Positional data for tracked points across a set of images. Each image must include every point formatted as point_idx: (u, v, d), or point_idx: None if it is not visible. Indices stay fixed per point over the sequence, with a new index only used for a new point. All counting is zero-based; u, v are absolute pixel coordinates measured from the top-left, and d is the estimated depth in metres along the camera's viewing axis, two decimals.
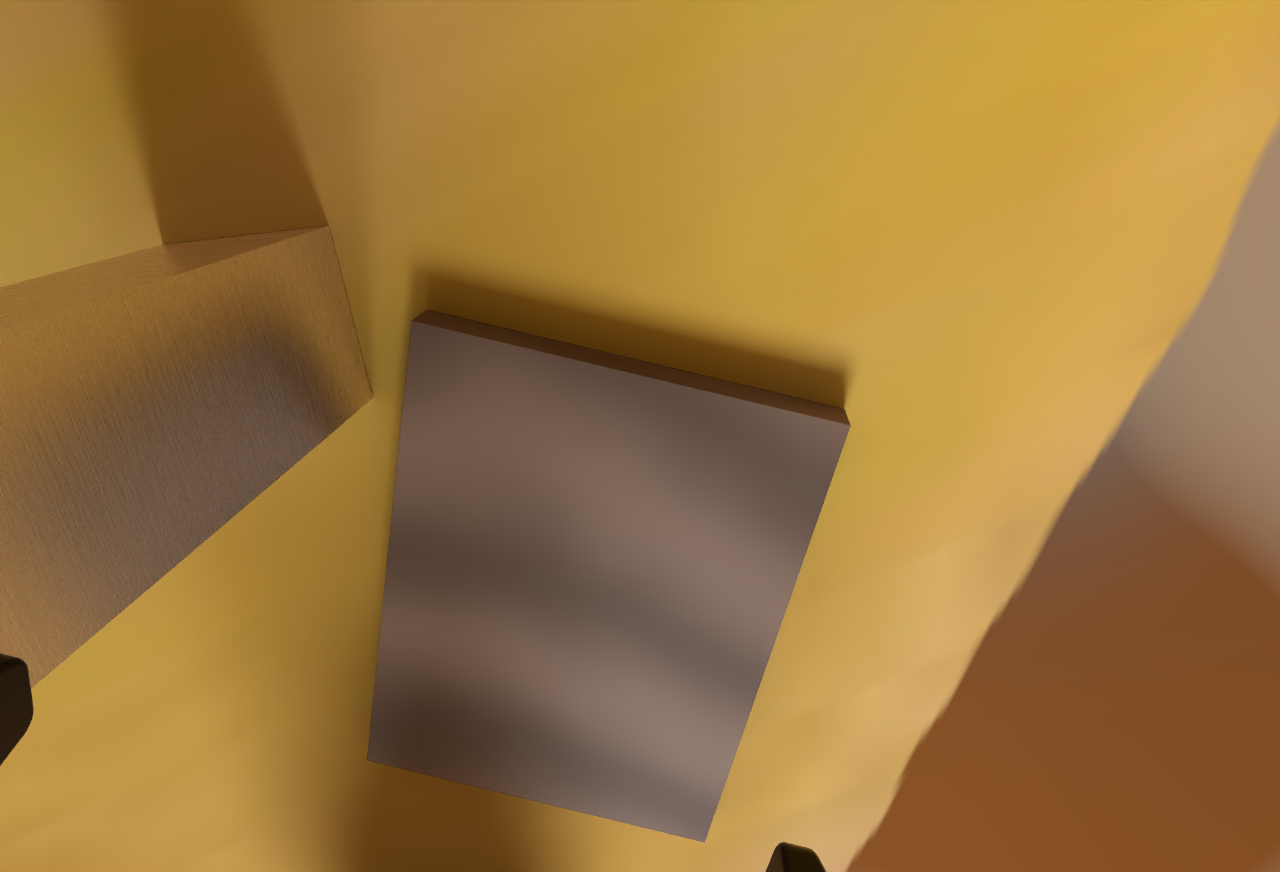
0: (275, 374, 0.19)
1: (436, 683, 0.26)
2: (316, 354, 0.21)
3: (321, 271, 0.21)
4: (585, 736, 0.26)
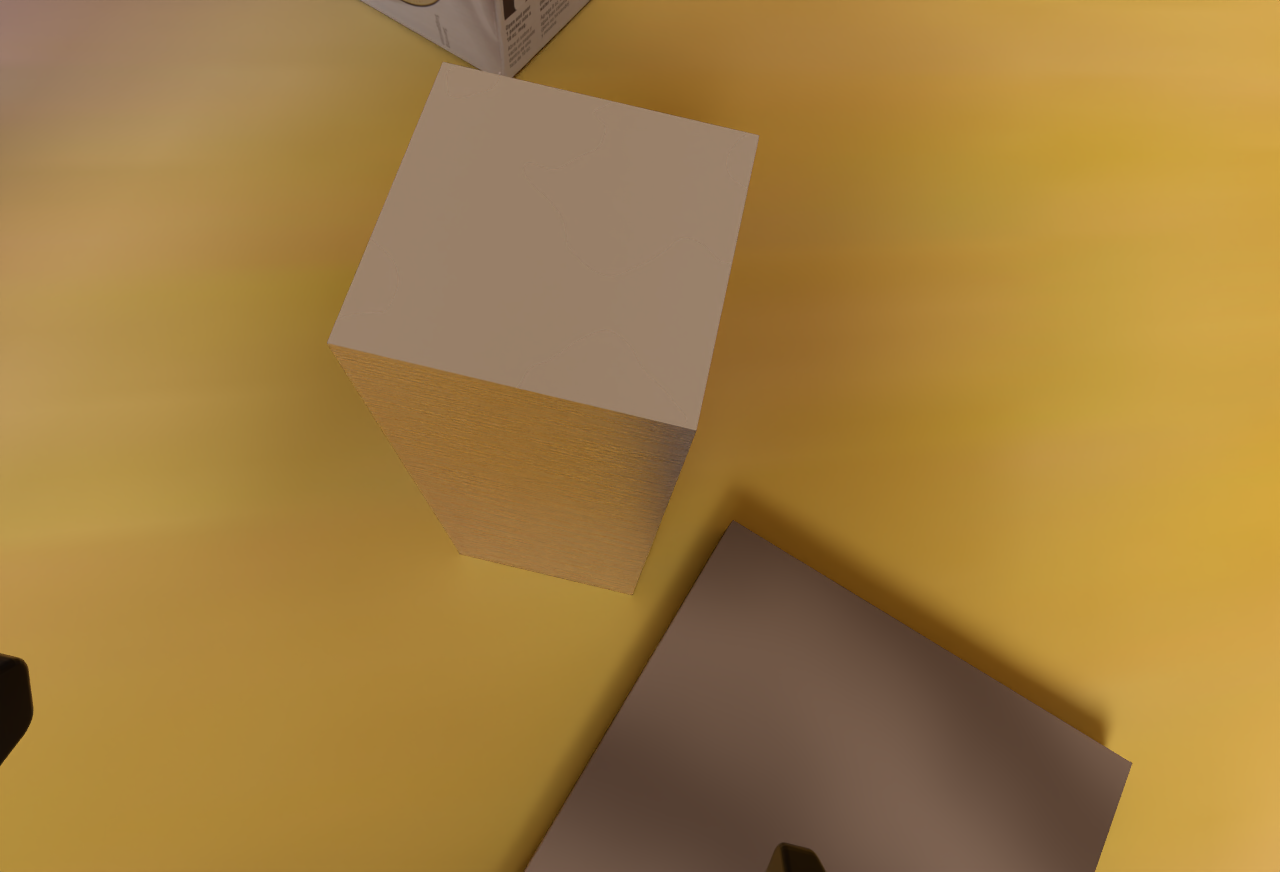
0: None
1: None
2: None
3: None
4: None
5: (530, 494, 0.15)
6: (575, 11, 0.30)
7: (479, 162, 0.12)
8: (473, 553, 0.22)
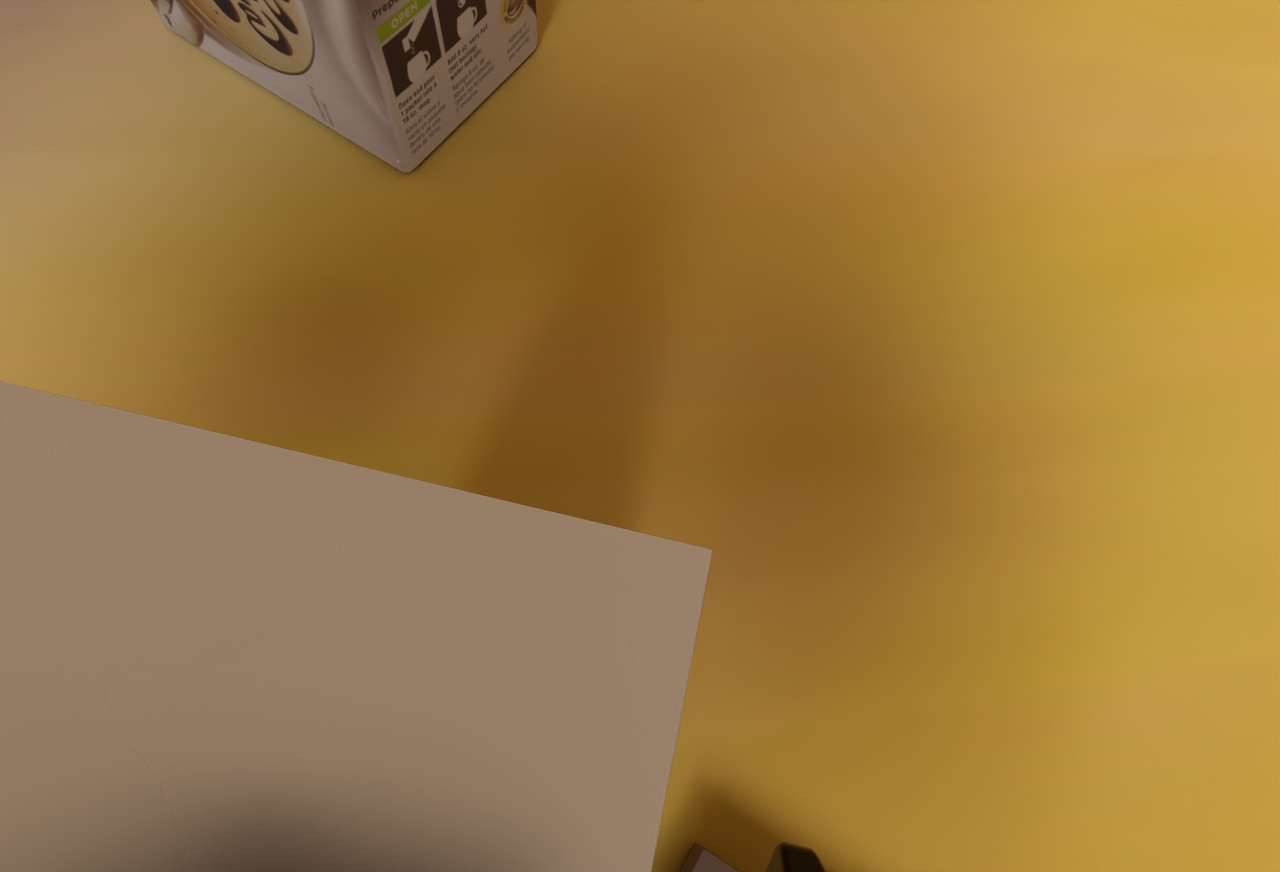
0: None
1: None
2: None
3: None
4: None
5: None
6: (504, 75, 0.23)
7: None
8: None
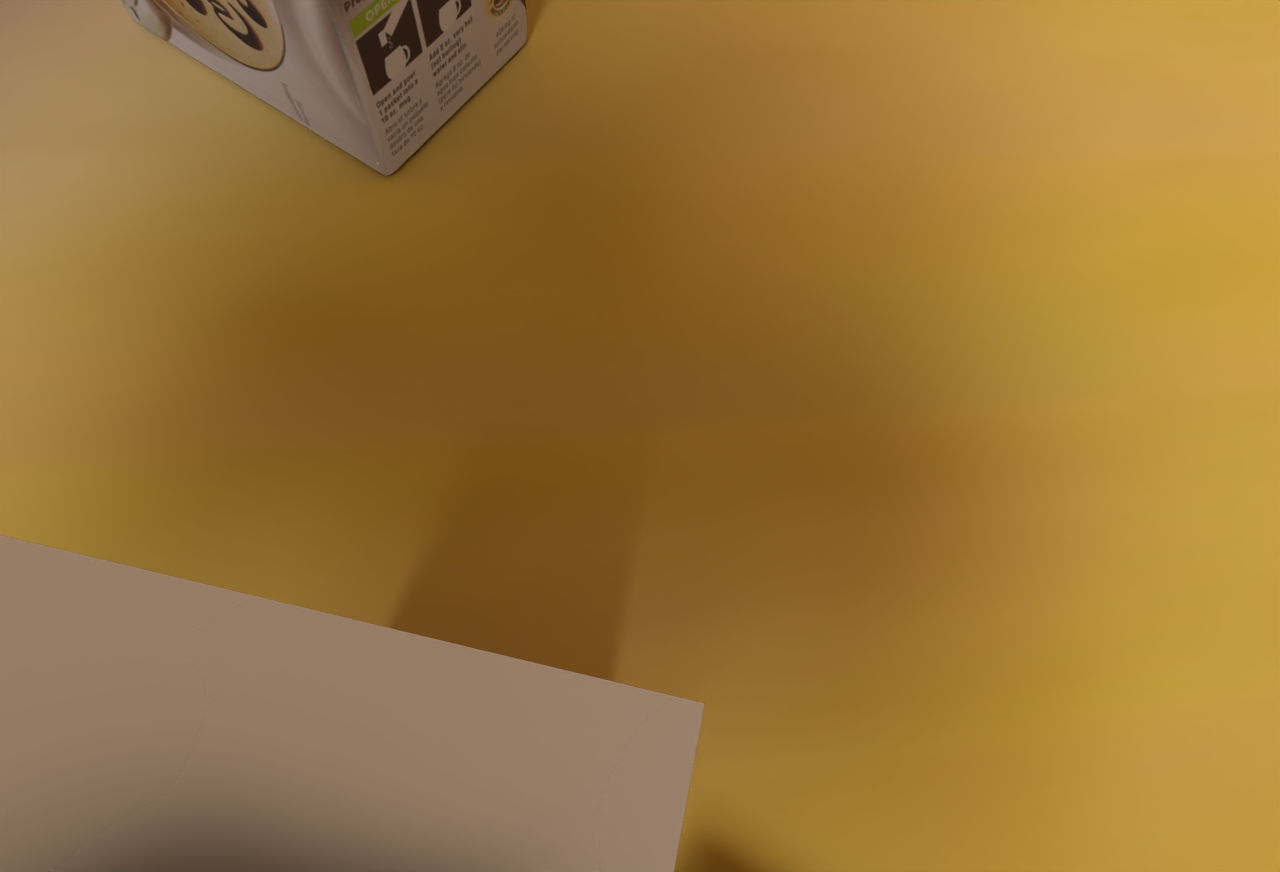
0: None
1: None
2: None
3: None
4: None
5: None
6: (492, 71, 0.21)
7: None
8: None
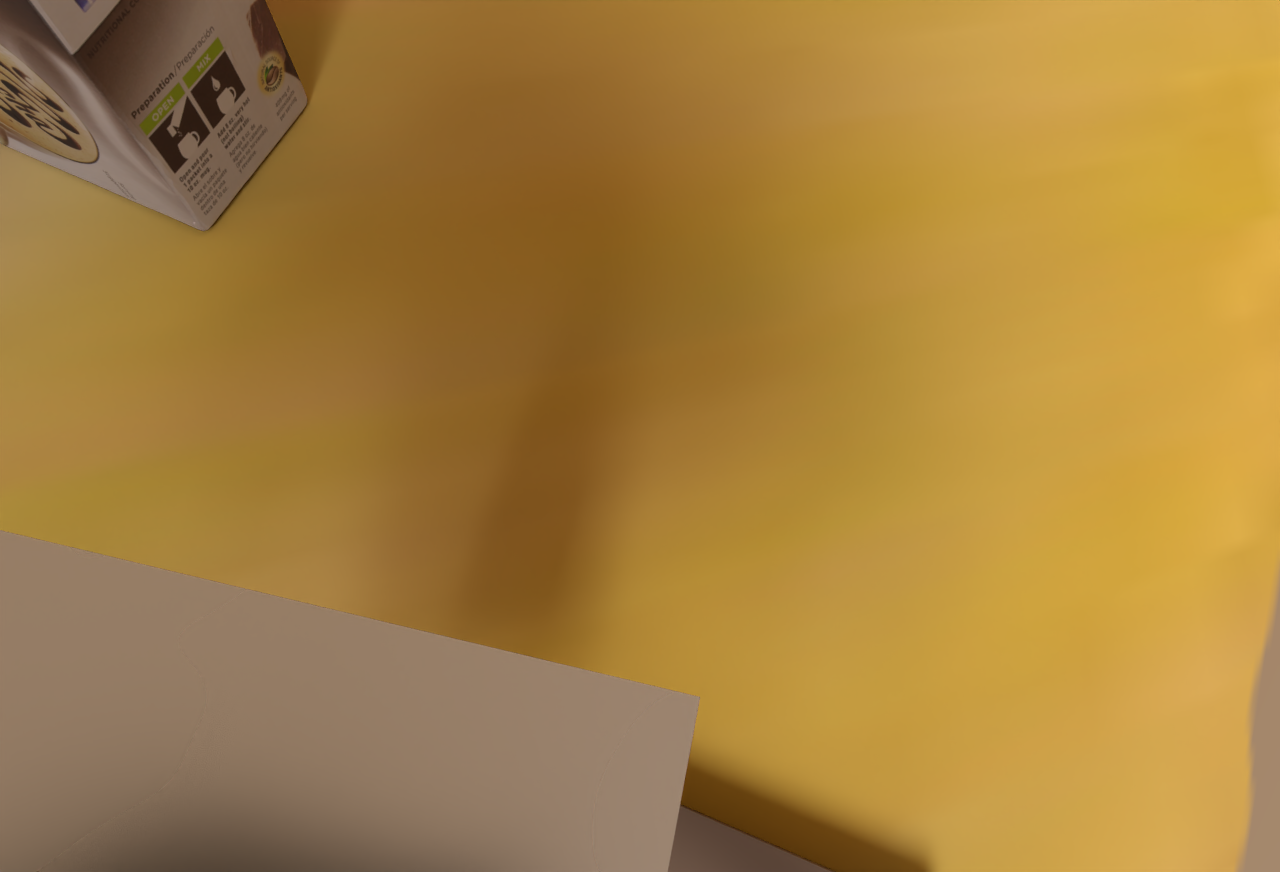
0: None
1: None
2: None
3: None
4: None
5: None
6: (280, 133, 0.27)
7: None
8: None
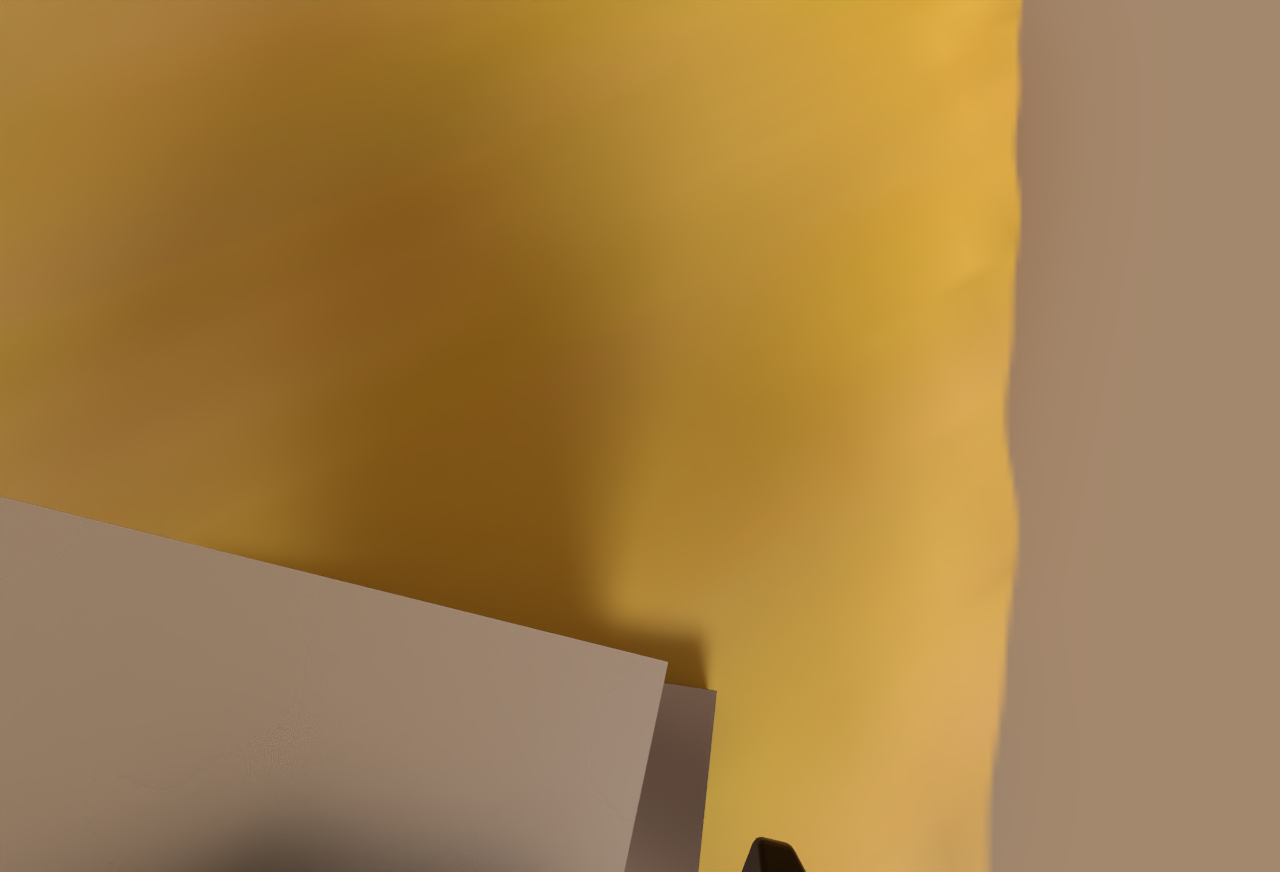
0: None
1: None
2: None
3: None
4: None
5: None
6: None
7: None
8: None
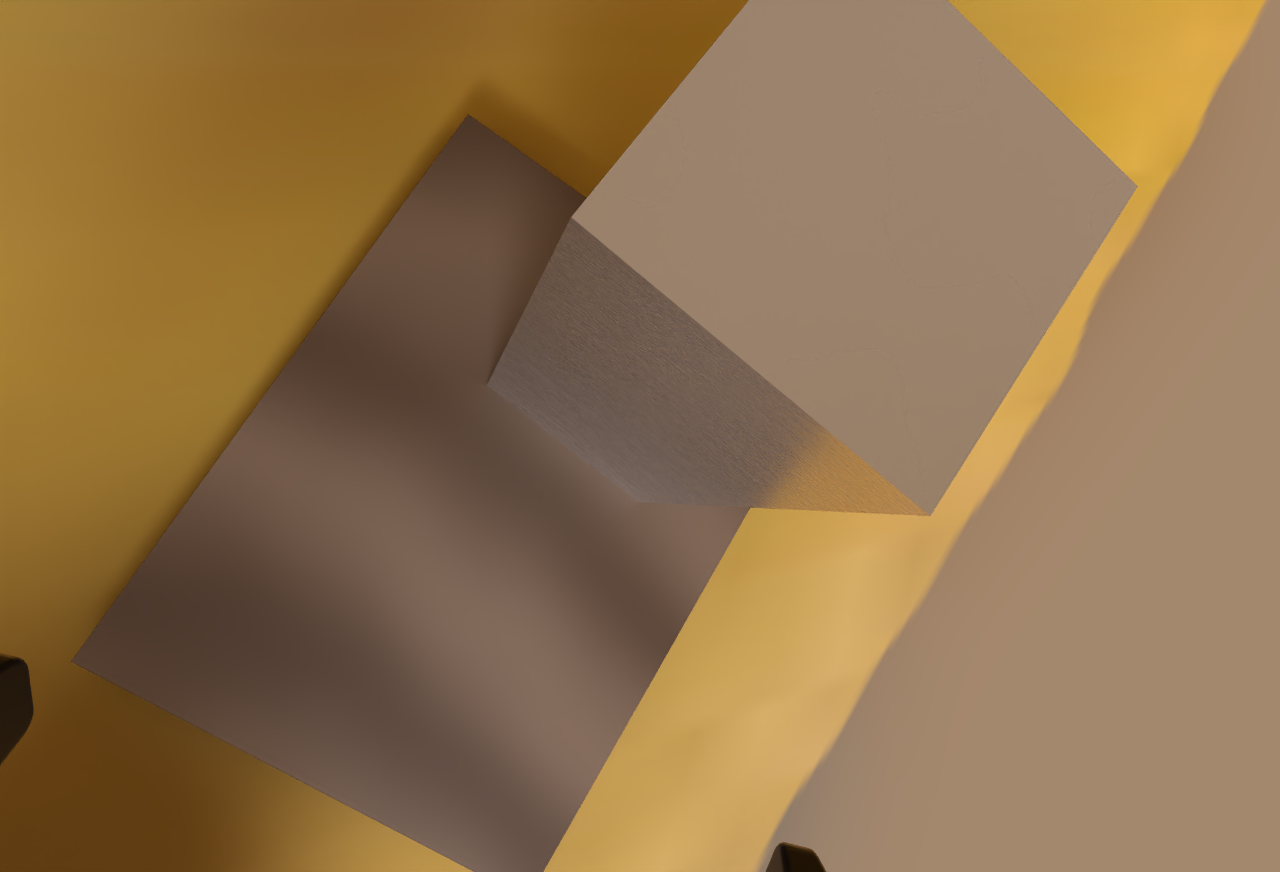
0: None
1: (261, 550, 0.19)
2: None
3: None
4: (434, 682, 0.20)
5: (640, 416, 0.13)
6: None
7: (828, 60, 0.09)
8: (503, 393, 0.20)
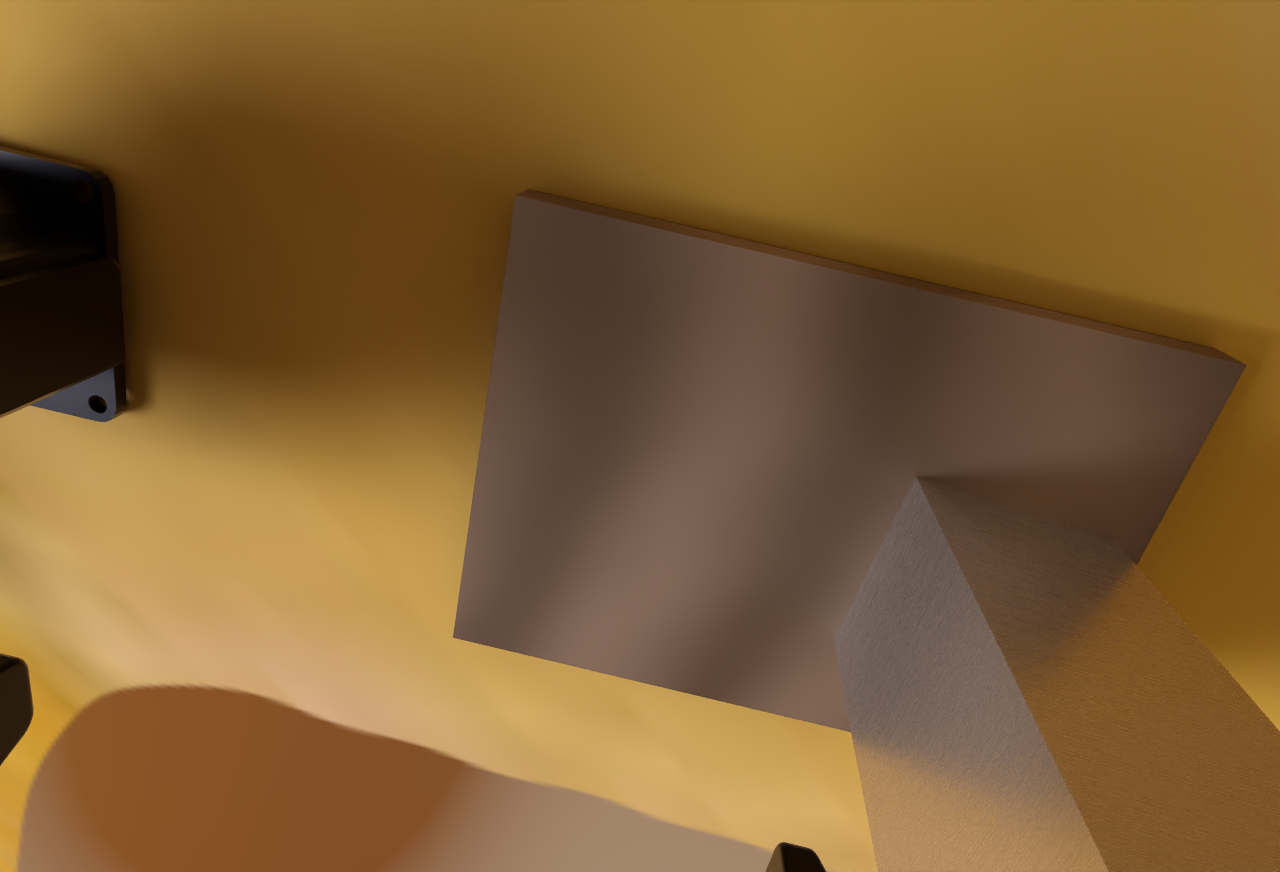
0: None
1: (677, 326, 0.18)
2: None
3: None
4: (605, 515, 0.20)
5: (957, 836, 0.13)
6: None
7: None
8: (912, 504, 0.19)
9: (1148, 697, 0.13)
